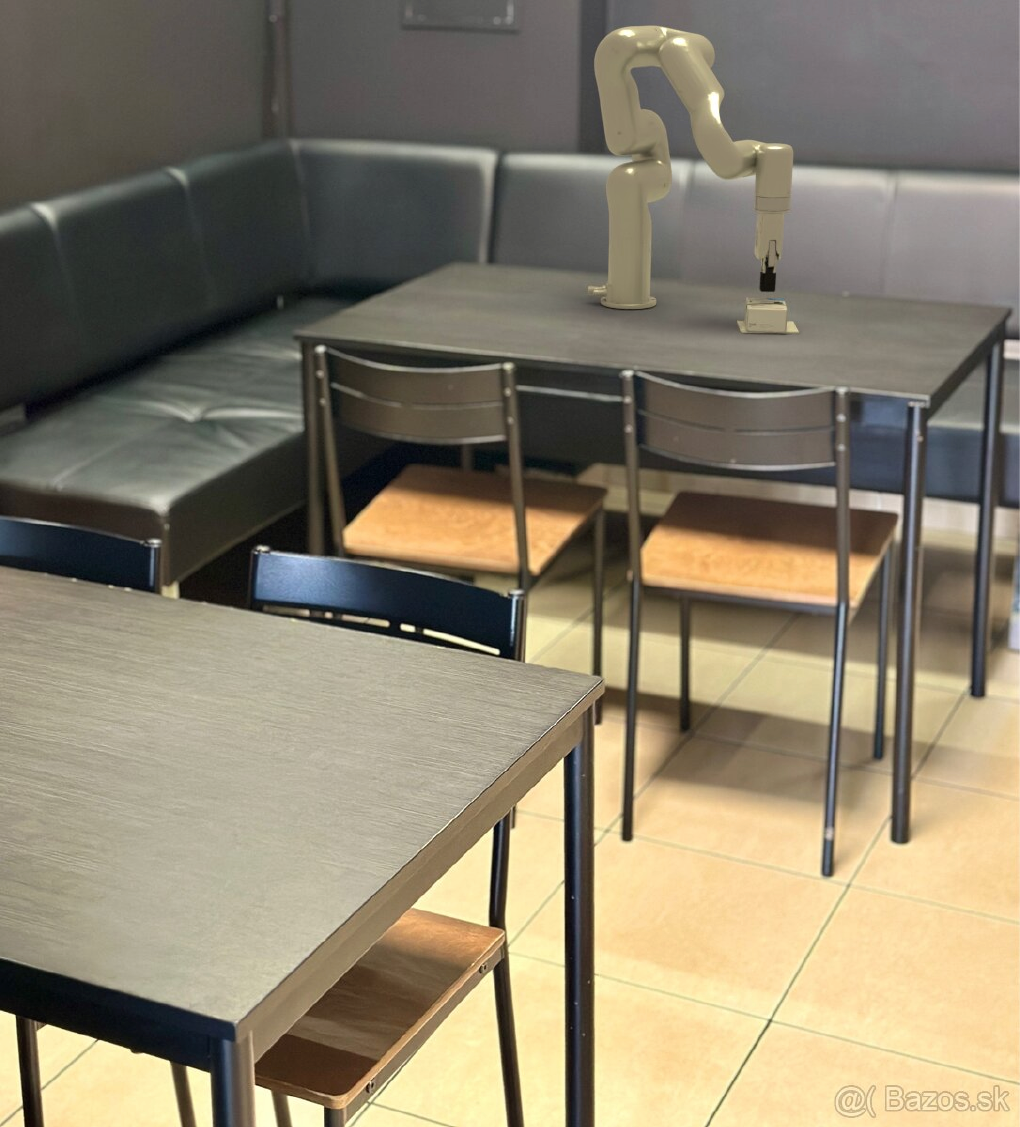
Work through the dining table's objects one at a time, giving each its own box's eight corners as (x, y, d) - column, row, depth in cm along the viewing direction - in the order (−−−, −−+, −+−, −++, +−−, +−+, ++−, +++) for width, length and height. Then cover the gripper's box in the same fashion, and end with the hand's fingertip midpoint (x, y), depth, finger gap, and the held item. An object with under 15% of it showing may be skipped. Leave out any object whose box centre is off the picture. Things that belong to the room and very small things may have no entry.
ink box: (785, 297, 342) (788, 309, 331) (783, 320, 344) (787, 332, 333) (745, 296, 343) (747, 308, 332) (744, 319, 345) (746, 332, 334)
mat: (741, 333, 335) (741, 331, 334) (737, 322, 344) (737, 321, 344) (798, 333, 334) (798, 331, 334) (792, 323, 343) (793, 321, 343)
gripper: (750, 199, 341) (746, 284, 348) (757, 209, 327) (753, 298, 334) (785, 199, 341) (780, 284, 348) (794, 209, 327) (788, 298, 334)
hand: (767, 290), depth 341 cm, fingers closed
